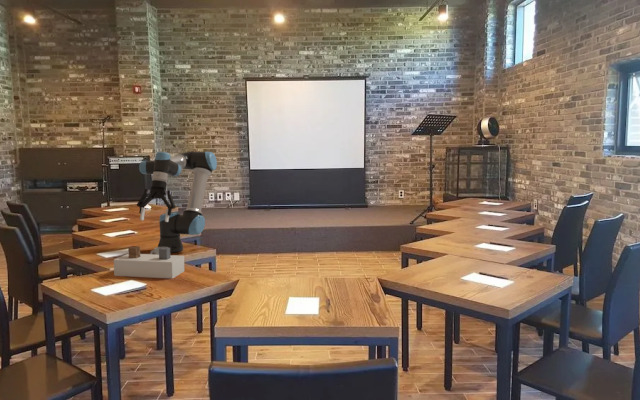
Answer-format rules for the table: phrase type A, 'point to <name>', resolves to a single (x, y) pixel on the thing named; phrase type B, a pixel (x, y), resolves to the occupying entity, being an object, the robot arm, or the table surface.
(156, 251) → the cup
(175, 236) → the robot arm
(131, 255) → the walnut peg
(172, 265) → the grey rectangular block
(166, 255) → the charcoal peg
